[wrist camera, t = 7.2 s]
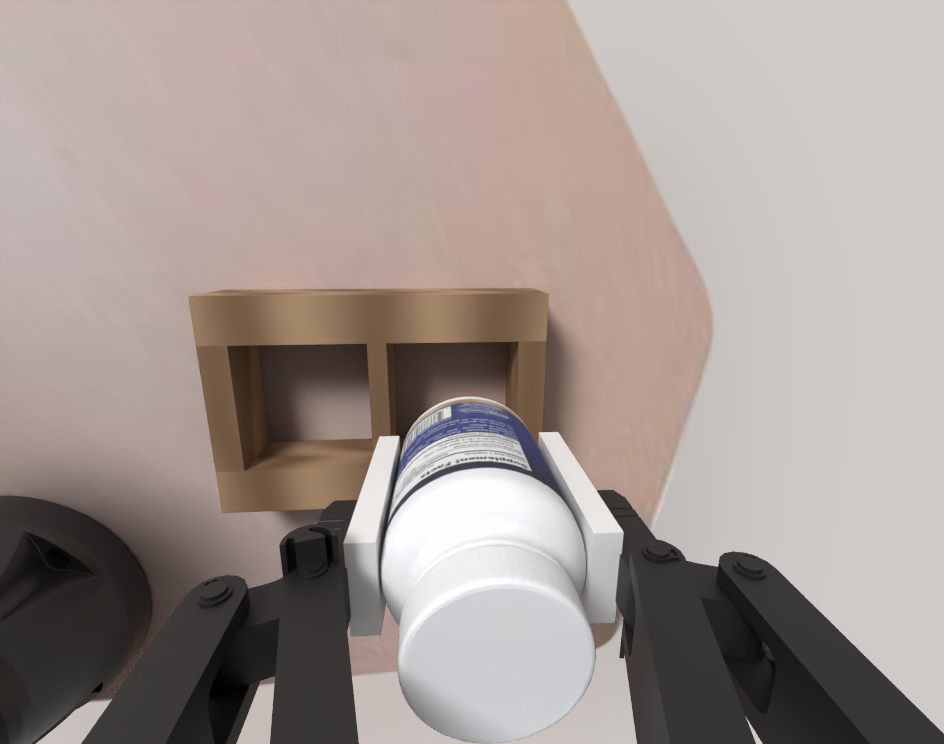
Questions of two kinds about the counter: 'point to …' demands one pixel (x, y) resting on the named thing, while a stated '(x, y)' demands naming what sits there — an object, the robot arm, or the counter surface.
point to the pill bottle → (484, 578)
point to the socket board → (379, 326)
